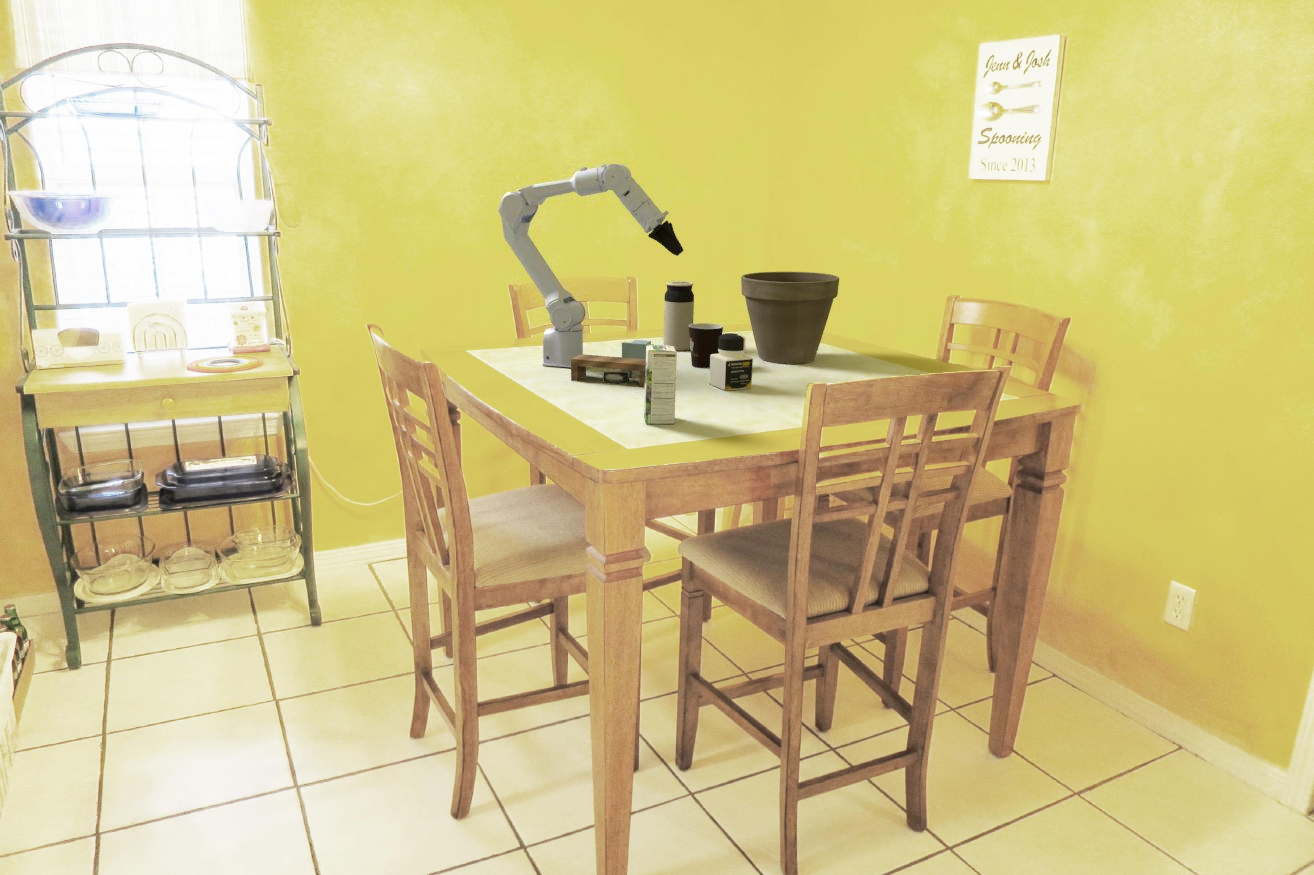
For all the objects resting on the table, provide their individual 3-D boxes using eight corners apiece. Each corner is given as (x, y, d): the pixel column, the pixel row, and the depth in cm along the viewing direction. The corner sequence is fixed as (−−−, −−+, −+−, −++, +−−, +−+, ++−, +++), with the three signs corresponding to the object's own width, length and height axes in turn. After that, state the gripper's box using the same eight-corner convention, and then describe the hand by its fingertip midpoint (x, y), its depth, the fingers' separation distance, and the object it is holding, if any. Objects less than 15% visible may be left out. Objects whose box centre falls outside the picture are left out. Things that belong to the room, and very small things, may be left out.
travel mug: (697, 348, 252) (699, 282, 247) (682, 352, 245) (684, 285, 240) (673, 344, 256) (674, 280, 251) (658, 349, 250) (659, 282, 244)
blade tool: (605, 376, 216) (605, 351, 214) (627, 362, 231) (628, 339, 230) (638, 379, 214) (638, 353, 212) (658, 365, 229) (658, 341, 228)
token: (599, 383, 209) (599, 373, 208) (608, 378, 215) (608, 368, 214) (624, 385, 207) (624, 375, 207) (632, 380, 213) (632, 370, 212)
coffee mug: (719, 370, 225) (720, 329, 222) (684, 368, 226) (685, 328, 223) (725, 361, 236) (726, 322, 233) (692, 359, 237) (693, 320, 234)
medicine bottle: (725, 391, 203) (727, 338, 200) (708, 384, 209) (710, 332, 206) (751, 388, 206) (754, 335, 203) (735, 381, 212) (737, 330, 209)
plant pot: (725, 362, 234) (728, 277, 227) (752, 346, 256) (756, 268, 249) (822, 372, 225) (828, 283, 219) (841, 354, 247) (847, 273, 240)
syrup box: (643, 416, 181) (644, 344, 177) (672, 416, 181) (674, 344, 177) (645, 424, 175) (646, 350, 171) (675, 424, 176) (677, 350, 172)
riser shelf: (571, 380, 211) (570, 359, 209) (580, 375, 216) (580, 354, 215) (645, 386, 206) (645, 364, 205) (653, 381, 212) (653, 359, 210)
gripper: (651, 192, 205) (689, 239, 205) (658, 198, 219) (694, 242, 220) (627, 213, 206) (666, 260, 207) (635, 218, 220) (671, 262, 221)
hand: (679, 252), depth 213 cm, fingers open, 7 cm apart
